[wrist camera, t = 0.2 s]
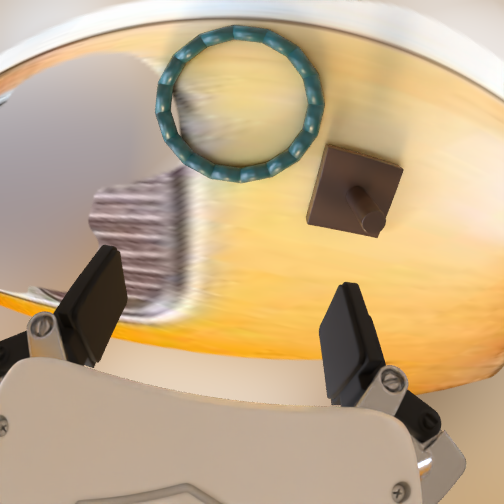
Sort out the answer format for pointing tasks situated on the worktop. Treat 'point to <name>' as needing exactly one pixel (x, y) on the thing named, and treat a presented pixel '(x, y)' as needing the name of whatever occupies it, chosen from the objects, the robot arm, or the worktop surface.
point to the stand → (353, 192)
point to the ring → (255, 171)
